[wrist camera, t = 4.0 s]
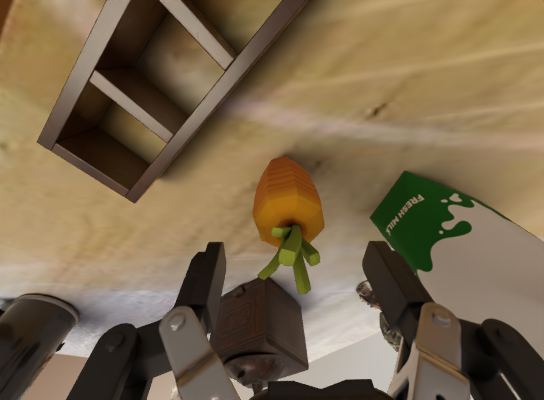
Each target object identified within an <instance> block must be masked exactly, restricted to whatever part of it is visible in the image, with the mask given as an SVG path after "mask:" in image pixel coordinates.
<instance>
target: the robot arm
mask: <svg viewBox="0 0 544 400" xmlns="http://www.w3.org/2000/svg"><path fill="white" fill-rule="evenodd" d="M362 266H363V271H364V273H365V275H366V277H367V280H368V282H369V284H370V286H371V288H372V291H373V293H374V295H375V297H376V299H377V301H378V304H379V306H380V308H381V310H382V312H383V314H384V317H385V319H386V321H387V323H388V325H389V328H390V330H391V331H401V333H402V335H403V337H402V338H401V342H400V347H399V351H398V356H397V361H396V365H395V370H394V375H393V378H392V381H391V383H390V386H389V388H388V391H387V393H385V392H383V391H381V390H378V389H377V388H374V386H373V383H372V380H371V379H357V380H356V379H355V380H344V381H341V382H339V383H336V384H334V385H331V386H328V387H326V388H323V389H318V388H315V387H312V386H309V385H305V384H302V383H299V382H295V381H268V389H265V390H263V391H261V392H259V393H257V394H255V395H254V396H253V397H251V398H250V399H249V400H470V394H471V395H472V397H473V399H474V400H518V399H517V398H516V396H515V395H514V393H513V392H512V391H511V389H510V388H509V386H508V385H507V383H506V382H505V380H504V379H503V378H502V376H501V374H502V373H503V375H504V376H505V378H506V379H507V381H508V382H509V383H510V385H511V386H512V388H513V389H514V391H515V392H516V393H517V395H518V396H519V398H520V399H521V400H544V360H543V359H542V357H541V356H540V355H539V354H538V353H537V352H536V351H535V349H534V348H533V347H532V346H531V345H530V344H529V342H528V341H527V340H526V339H525V338H524V337H523V336H522V335H521V334H520V333H519V332H518V331H517V330H516V329H514V328H513V327H512V326H510V325H508V324H507V323H505V322H503V321H500V320H497V319H492V318H489V319H486V320H484V321H483V322H482V323H481V324H478V323H474V322H470V321H467V320H463V319H460V318H457V317H456V316H455V315H454V314H453V313H452V312H451V311H450V310H449V309H447V308H446V307H444V306H442V305H440V304H437V303H435V301H434V300H433V299H432V297H431V296H430V294H429V293H428V291H427V290H426V289H425V287H424V286H423V284H422V283H421V281H420V280H419V278H418V277H417V276H416V275H415V273H414V271H413V270H412V268H410V266H409V264H408V263H407V261H406V260H405V258H404V257H403V256H401V255H400V254H399V253H398V252H396V251H392V250H391V249H390V247H389V246H388V244H387V243H386V242H385V241H370V242H369V243H368V246H367V249H366V252H365V255H364V258H363V261H362ZM225 274H226V257H225V250H224V244H223V242H209V243H208V245H207V248H206V251H205V252H198V253H197V254H196V255H195V256H194V257H193V259H192V260H191V263H190V265H189V269H188V271H187V273H186V277H185V279H184V281H183V284H182V287H181V289H180V292H179V295H178V297H177V300H176V303H175V305H174V307H173V309H172V310H170V311H169V312H167V313H166V314H165V316H164V317H163V318H162V319H161V320H159V321H156V322H154V323H151V324H148V325H145V326H142V327H139V328H135V327H134V326H133V325H132V324H128V323H124V324H119V325H117V326H114V327H113V328H111V329H109V330H108V331H107V332H106V333H104V334H103V335H102V336H101V338H100V339H99V340H98V342H97V344H96V345H95V347H94V349H93V351H92V353H91V355H90V356H89V358H88V360H87V362H86V364H85V366H84V368H83V369H82V371H81V373H80V375H79V377H78V379H77V380H76V382H75V384H74V386H73V388H72V390H71V392H70V393H69V395H68V397H67V399H66V400H147V396H148V393H149V390H150V387H151V383H152V380H153V378H154V377H156V376H159V375H161V374H164V373H167V372H169V371H172V370H173V373H174V376H175V380H176V386H177V390H178V393H179V396H180V399H181V400H241V399H240V397H239V396H238V393H237V391H236V390H235V388H234V386H233V384H232V382H231V380H230V378H229V376H228V374H227V372H226V370H225V368H224V366H223V364H222V362H221V360H220V358H219V357H218V355H217V353H216V352H215V351H214V350H213V348H212V346H211V344H210V342H209V340H208V338H207V333H214V331H215V326H216V320H217V315H218V310H219V305H220V300H221V294H222V289H223V284H224V279H225ZM79 318H80V317H79V314H78V312H77V311H76V310H75V309H74V308H73V307H71V306H70V305H68V304H67V303H65V302H63V301H60V300H58V299H55V298H52V297H48V296H43V295H24V296H20V297H18V298H17V299H16V300H14V301H9V302H7V303H6V304H5V305H4V306H3V307H2V308H1V309H0V400H21V399H22V398H23V396H24V395H25V393H26V392H27V391H28V389H29V388H30V387H31V385H32V384H33V382H34V381H35V380H36V378H37V377H38V376H39V374H40V373H41V371H42V370H43V369H44V367H45V366H46V365H47V363H48V362H49V360H50V359H51V358H52V356H53V355H54V353H55V352H57V351H59V350H60V349H61V348H62V346H63V345H64V344H65V343H63V344H62V342H63V341H64V340H65V338H66V337H67V335H68V334H69V333H70V331H71V330H72V328H73V327H75V325H76V324H77V323H78V321H79Z"/></svg>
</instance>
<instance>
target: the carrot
mask: <svg viewBox="0 0 544 400" xmlns="http://www.w3.org/2000/svg"><path fill="white" fill-rule="evenodd" d="M253 218H254V221H255V223H256V226H257V229H258V231H259V234H260V237H261V239H262V241H264V242H267V243H269V244H271V245H274V246H276V247H278V248H279V249H278V252H277V253H276V255H275V257H274V258H273V259H272V261H271V262H270V263H269V265H268V266H266V267H265V268H264V269H263V270H262V271H261V272H260V273H259V274H258V275H257V276H258V277H259V278H260V279H264V280H265V279H266V278H268V277H269V276H271V275H272V274H273V273H274V272H275V271H276V270H277V268H278V267H279V265H280V263H281V264H283V265H285V266H293V268H294V276H295V281H296V286H297V290H298V293H299V294H306V293H307V292H309V291H310V290H311V286H310V281H309V278H308V274H307V270H306V266H305V263H304V259H303V256H304V258H305V259H306V261H307V262H308V263H309V265H310V266H314V265H317V264H318V263H319V262H320V255H319V252H318V251H317V250H316V249H315V248H314V247H313V246H312V245H310V242H311V241H312V240H313V239H314V238H315V237H316V236H317V235H318V234H319V233H320V232H321V231H322V229H323V228H324V220H323V213H322V206H321V201H320V197H319V195H318V193H317V191H316V188H315V186H314V184H313V182H312V180H311V179H310V177H309V175H308V174H307V173H306V171H305V170H304V169H303V168H302V167H301V166H300V165H299V164H297V163H295V162H294V161H292V160H290V159H289V158H287V157H280V158H276V159H273V160H271V162H270V163H269V165H268V167H267V168H266V170H265V171H264V173H263V175H262V177H261V179H260V181H259V183H258V186H257V190H256V195H255V201H254V209H253Z"/></svg>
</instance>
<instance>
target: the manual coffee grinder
mask: <svg viewBox="0 0 544 400" xmlns="http://www.w3.org/2000/svg"><path fill="white" fill-rule="evenodd" d="M209 342H210V344H211V346H212V348H213V350H214V351H215V352H216V353H217V355H218V357H219V358H220V360H221V362H222V364H223V366H224V368H225V370H226V372H227V374H228V376H229V377H231V378H233V379H235V380H237V381H238V382H239V383H241V384H242V385H243V386H246V387H247V388H252V389H253V392H254V395H255V394H257V393H259V392H261V391H262V389H263V388H264V387H267V386H268V381H277V380H278V379H280V378H283V377H287V376H290V375H293V374H296V373H299V372H302V371H305V370H308V367H309V366H308V358H307V350H306V343H305V335H304V328H303V321H302V314H301V307H300V305H299V304H298V303H297V302H296V300H295V299H293V298H292V297H291V296H290V295H289V294H288V293H287V292H286V291H284V290H283V289H282V288H281V287H280V286H279V285H278V284H277V283H275V282H274V281H273V280H272V279H271V278H269V277H268V278H266V279H265V280H264V279H260V278H258V279H256V280H254V281H252V282H249V283H247V284H244V285H242V286H240V287H238V288H236V289H234V290H233V291H231V292H230V293H228V294H226V295H224V296H223V297H221V300H220V305H219V310H218V315H217V320H216V326H215V331H214V333H211V335H210V340H209Z"/></svg>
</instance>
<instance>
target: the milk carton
mask: <svg viewBox="0 0 544 400" xmlns="http://www.w3.org/2000/svg"><path fill="white" fill-rule="evenodd" d="M370 219H371V220H372V221H373V223H374V224H375V225H376V226H377V228H378V229H379V230H380V232H381V233H382V234H383V236H384V237H385V238H386V240H387V241H388V242H389V243H390V245H391V246H392V247H393V249H394V250H395V251H396V252H398V253H399V254H400V255H401V256H403V257H404V258H405V260H406V261H407V263H408V264H409V266H410V268H412V270H413V271H414V273H415V275H416V276H417V277H418V278H419V280H420V281H421V283H422V284H423V286H424V287H425V289H426V290H427V291H428V293H429V294H430V296H431V297H432V299H433V300H434V301H435V303H437V304H440V305H442V306H444V307H446V308H447V309H449V310H450V311H451V312H452V313H453V314H454V315H455V316H456V317H457V318H460V319H463V320H467V321H470V322H474V323H478V324H481V323H482V322H483V321H484V320H486V319H489V318H492V319H497V320H500V321H503V322H505V323H507V324H508V325H510V326H512V327H513V328H514V329H516V330H517V331H518V332H519V333H520V334H521V335H522V336H523V337H524V338H525V339H526V340H527V341H528V342H529V344H530V345H531V346H532V347H533V348H534V349H535V351H536V352H537V353H538V354H539V355H540V356H541V357H542V359H543V360H544V242H543V241H542V240H540V239H539V238H537V237H536V236H534V235H532V234H531V233H529V232H528V231H526V230H525V229H523V228H522V227H520V226H519V225H517V224H516V223H514V222H512V221H511V220H509V219H508V218H506V217H505V216H503V215H502V214H500V213H499V212H497V211H496V210H494V209H492V208H491V207H489V206H488V205H486V204H484V203H483V202H481V201H479V200H477V199H475V198H473V197H471V196H468V195H466V194H464V193H461V192H459V191H457V190H455V189H452V188H450V187H447V186H444V185H442V184H439V183H436V182H433V181H431V180H428V179H425V178H423V177H420V176H417V175H414V174H412V173H409V172H406V171H404V173H403V174H402V176H401V177H400V178H399V180H398V181H397V182H396V184H395V185H394V186H393V188H392V189H391V190H390V192H389V193H388V194H387V196H386V197H385V199H384V200H383V201H382V203H381V204H380V205H379V207H378V208H377V209H376V211H375V212H374V213H373V215H372V216H371V217H370ZM501 376H502V378H503V379H504V380H505V382H506V383H507V385H508V386H509V388H510V389H511V391H512V392H513V393H514V395H515V396H516V398H517V399H518V400H521V399H520V398H519V396H518V395H517V393H516V392H515V391H514V389H513V388H512V386H511V385H510V383H509V382H508V381H507V379H506V378H505V376H504V375H503V373H502V374H501Z"/></svg>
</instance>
